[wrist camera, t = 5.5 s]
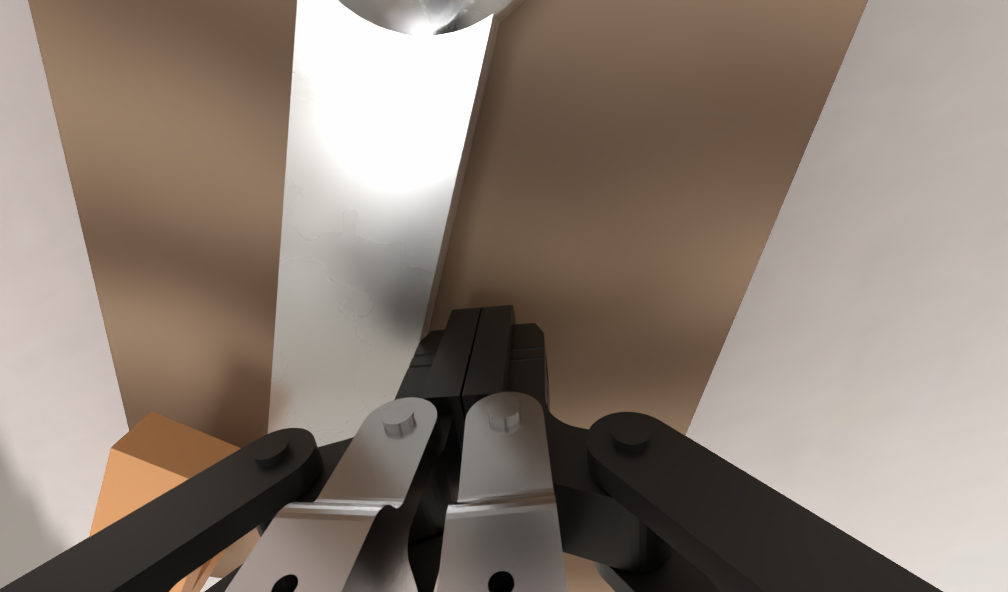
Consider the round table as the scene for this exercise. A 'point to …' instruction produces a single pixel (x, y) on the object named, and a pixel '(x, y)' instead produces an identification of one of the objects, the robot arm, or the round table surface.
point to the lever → (370, 196)
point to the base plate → (483, 199)
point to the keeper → (156, 475)
